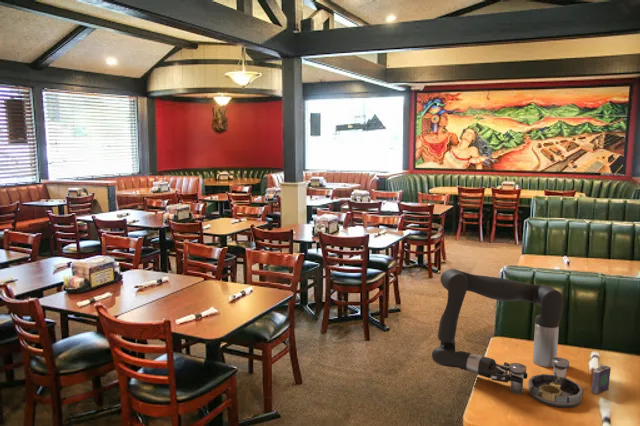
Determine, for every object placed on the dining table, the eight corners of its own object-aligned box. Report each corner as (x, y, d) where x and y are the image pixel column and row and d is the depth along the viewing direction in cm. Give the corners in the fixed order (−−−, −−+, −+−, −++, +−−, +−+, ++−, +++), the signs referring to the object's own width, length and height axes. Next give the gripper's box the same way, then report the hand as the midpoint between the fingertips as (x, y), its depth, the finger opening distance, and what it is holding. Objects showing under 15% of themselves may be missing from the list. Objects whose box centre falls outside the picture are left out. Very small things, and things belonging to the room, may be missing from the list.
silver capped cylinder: (511, 385, 197) (512, 361, 196) (527, 390, 194) (528, 365, 192) (505, 391, 193) (507, 366, 192) (521, 396, 189) (523, 371, 188)
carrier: (537, 379, 203) (539, 351, 201) (587, 394, 191) (589, 363, 189) (521, 396, 189) (523, 366, 187) (573, 413, 177) (575, 381, 176)
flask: (596, 395, 190) (598, 368, 188) (588, 392, 192) (590, 365, 191) (610, 389, 195) (612, 362, 193) (602, 386, 197) (604, 360, 196)
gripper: (473, 362, 196) (518, 375, 185) (488, 351, 207) (531, 362, 195) (472, 380, 197) (517, 395, 186) (487, 368, 208) (530, 381, 197)
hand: (524, 378), depth 191 cm, fingers closed on silver capped cylinder, 4 cm apart
